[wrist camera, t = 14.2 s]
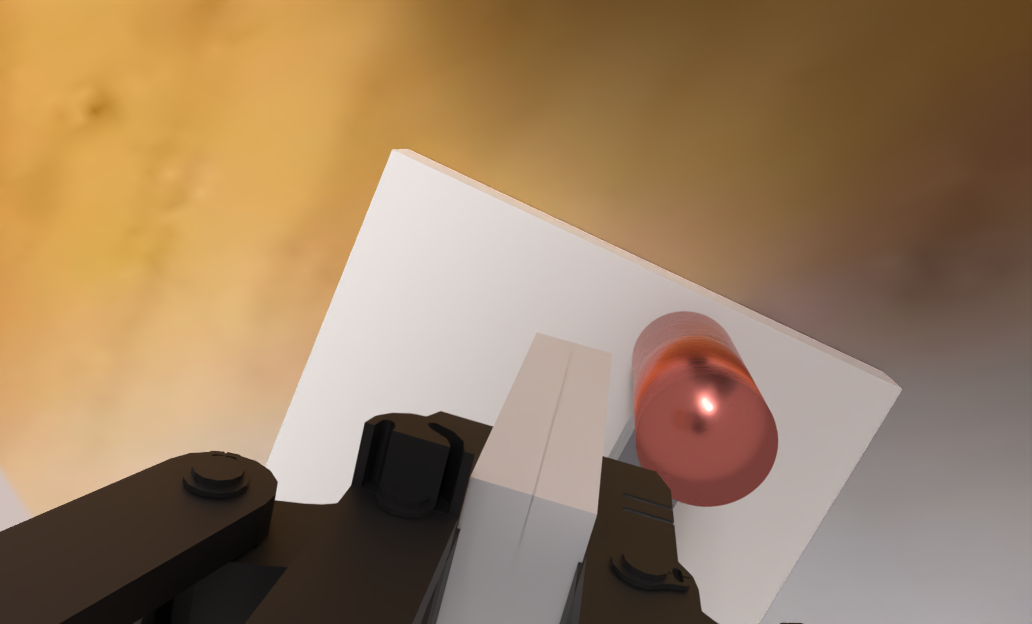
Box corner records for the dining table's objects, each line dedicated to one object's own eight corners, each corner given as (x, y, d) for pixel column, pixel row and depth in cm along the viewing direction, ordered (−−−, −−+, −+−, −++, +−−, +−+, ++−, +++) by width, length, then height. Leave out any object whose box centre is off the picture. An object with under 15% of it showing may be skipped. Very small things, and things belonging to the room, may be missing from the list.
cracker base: (408, 148, 28) (375, 149, 24) (882, 371, 28) (923, 407, 24) (207, 643, 33) (155, 705, 30) (602, 837, 33) (599, 926, 29)
